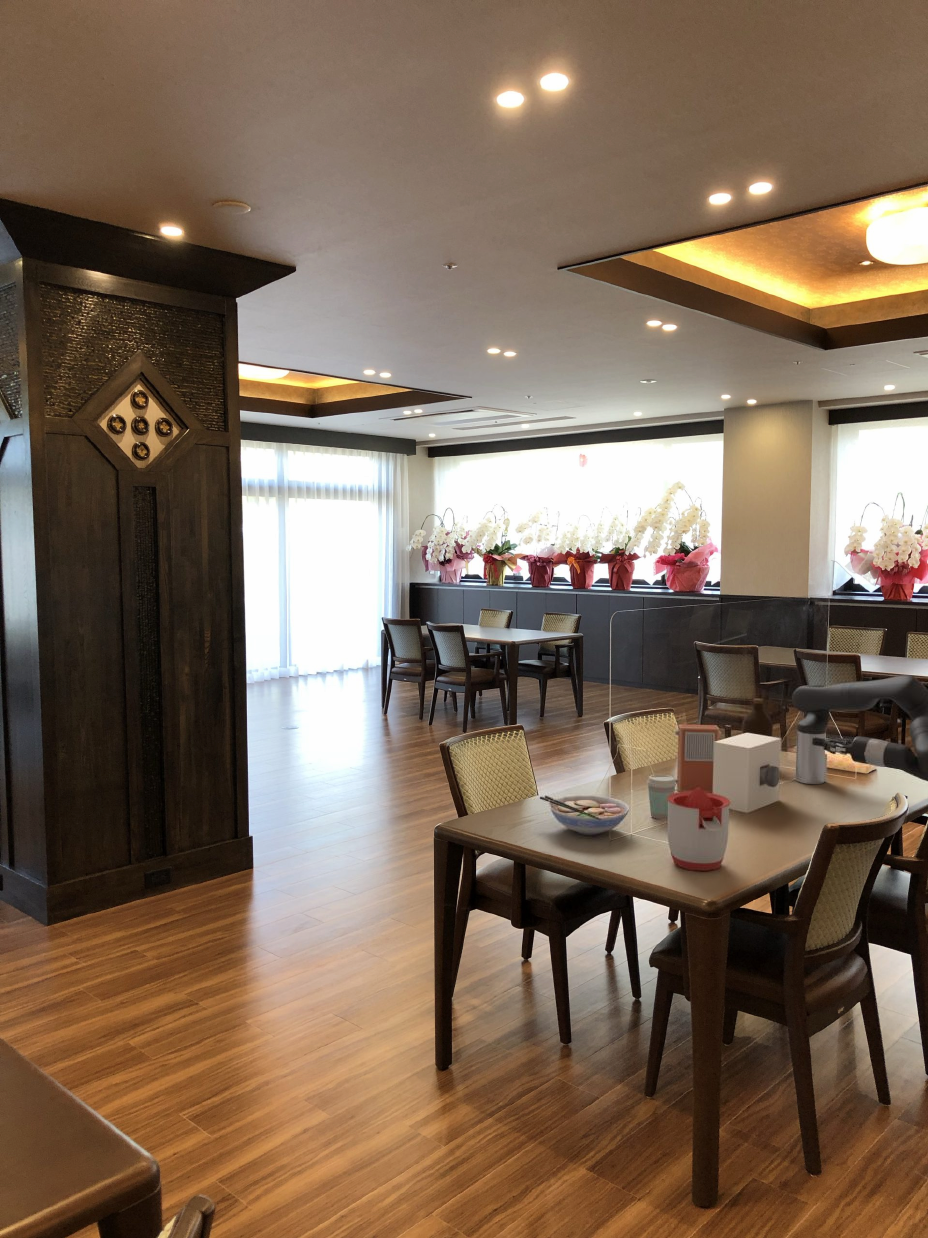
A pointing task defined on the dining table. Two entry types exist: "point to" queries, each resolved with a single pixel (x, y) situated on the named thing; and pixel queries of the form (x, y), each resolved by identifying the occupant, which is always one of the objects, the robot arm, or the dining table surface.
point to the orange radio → (696, 756)
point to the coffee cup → (660, 794)
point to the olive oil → (757, 721)
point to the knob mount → (745, 770)
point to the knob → (770, 775)
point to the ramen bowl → (588, 812)
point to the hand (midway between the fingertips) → (813, 740)
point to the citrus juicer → (697, 829)
